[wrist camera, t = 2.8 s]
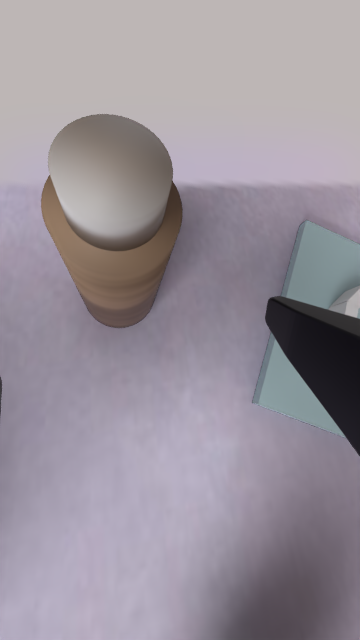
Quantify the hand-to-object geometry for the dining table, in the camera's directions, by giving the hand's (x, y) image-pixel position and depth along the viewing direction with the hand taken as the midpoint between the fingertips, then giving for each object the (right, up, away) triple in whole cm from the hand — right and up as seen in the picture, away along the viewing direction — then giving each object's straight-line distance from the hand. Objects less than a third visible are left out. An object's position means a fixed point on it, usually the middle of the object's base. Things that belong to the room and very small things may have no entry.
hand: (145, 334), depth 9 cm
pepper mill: (-3, +2, +12) cm, 12 cm away
